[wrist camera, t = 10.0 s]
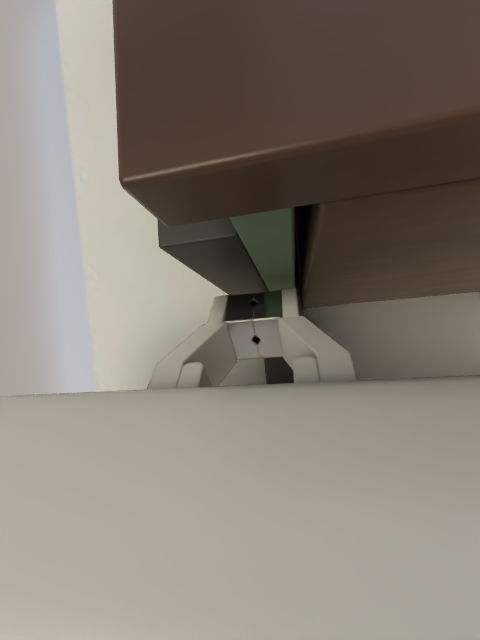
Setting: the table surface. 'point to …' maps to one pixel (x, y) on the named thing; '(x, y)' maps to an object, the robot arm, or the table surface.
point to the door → (238, 250)
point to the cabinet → (312, 133)
